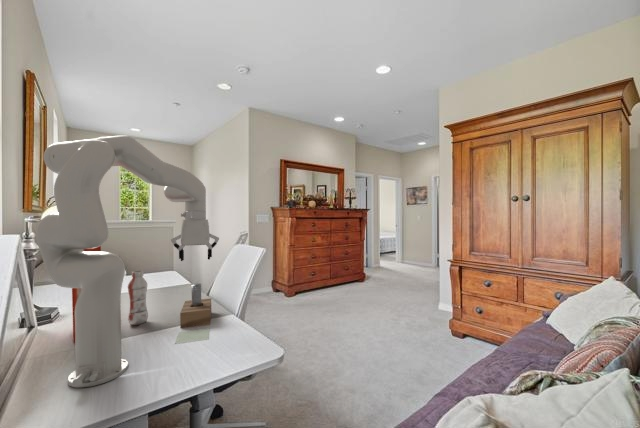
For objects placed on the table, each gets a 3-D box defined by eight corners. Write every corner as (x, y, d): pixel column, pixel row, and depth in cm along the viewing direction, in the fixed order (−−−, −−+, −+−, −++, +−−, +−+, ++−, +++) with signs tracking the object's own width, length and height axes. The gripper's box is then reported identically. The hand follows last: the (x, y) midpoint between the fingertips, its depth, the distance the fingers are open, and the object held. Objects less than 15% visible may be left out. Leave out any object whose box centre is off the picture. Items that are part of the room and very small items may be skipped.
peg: (201, 321, 114) (200, 285, 114) (191, 322, 113) (190, 285, 113) (202, 318, 117) (201, 283, 117) (192, 319, 116) (191, 283, 116)
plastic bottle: (152, 320, 115) (151, 269, 115) (140, 327, 109) (139, 273, 109) (136, 320, 116) (136, 269, 116) (123, 327, 109) (123, 273, 109)
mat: (208, 340, 96) (208, 339, 96) (174, 345, 93) (174, 343, 93) (209, 329, 105) (209, 328, 105) (178, 333, 102) (178, 332, 102)
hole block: (210, 325, 109) (209, 309, 109) (180, 329, 106) (180, 312, 106) (211, 312, 124) (211, 298, 124) (185, 315, 121) (185, 300, 121)
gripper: (169, 216, 109) (169, 262, 109) (218, 215, 115) (219, 259, 114) (172, 216, 116) (172, 259, 116) (219, 215, 122) (219, 257, 121)
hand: (195, 259), depth 115 cm, fingers open, 9 cm apart
